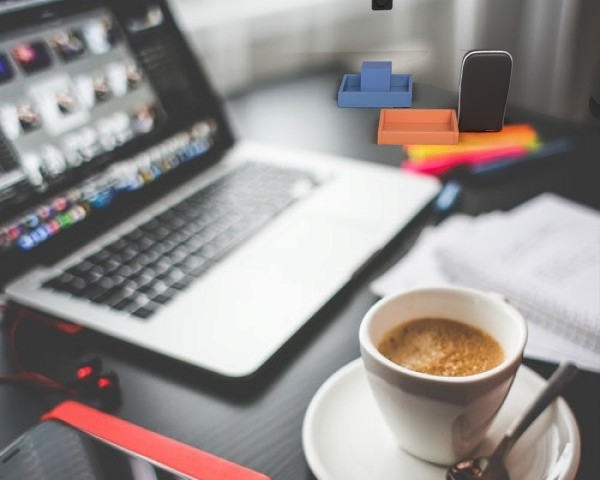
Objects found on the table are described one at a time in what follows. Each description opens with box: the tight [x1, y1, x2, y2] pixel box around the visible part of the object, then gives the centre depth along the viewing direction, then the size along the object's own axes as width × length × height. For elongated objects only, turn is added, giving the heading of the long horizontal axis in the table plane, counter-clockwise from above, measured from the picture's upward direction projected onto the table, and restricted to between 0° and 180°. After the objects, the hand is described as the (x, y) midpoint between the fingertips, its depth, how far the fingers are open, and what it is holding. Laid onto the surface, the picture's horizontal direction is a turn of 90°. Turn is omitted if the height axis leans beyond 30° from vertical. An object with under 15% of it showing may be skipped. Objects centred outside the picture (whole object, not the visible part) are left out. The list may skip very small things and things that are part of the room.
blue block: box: [360, 60, 393, 92], centre depth 108 cm, size 5×5×5 cm
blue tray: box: [337, 73, 413, 109], centre depth 109 cm, size 12×11×2 cm
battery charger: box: [457, 48, 513, 132], centre depth 92 cm, size 7×4×11 cm, turn 84°
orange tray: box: [377, 108, 460, 146], centre depth 93 cm, size 11×10×2 cm
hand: (383, 4), depth 101 cm, fingers open, 9 cm apart
